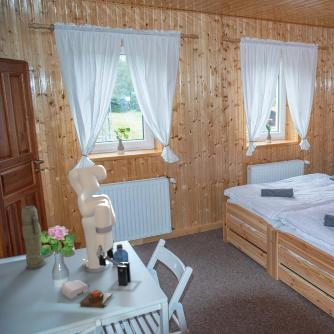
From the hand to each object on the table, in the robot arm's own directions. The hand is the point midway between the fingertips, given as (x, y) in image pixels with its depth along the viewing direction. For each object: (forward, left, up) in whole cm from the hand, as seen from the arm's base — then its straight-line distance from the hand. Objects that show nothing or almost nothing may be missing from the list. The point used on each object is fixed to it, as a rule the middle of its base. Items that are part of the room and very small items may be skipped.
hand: (106, 261), depth 195 cm
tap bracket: (+9, 0, -13) cm, 15 cm away
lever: (+4, 0, -2) cm, 4 cm away
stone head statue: (-51, +17, -13) cm, 56 cm away
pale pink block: (-15, -8, -13) cm, 22 cm away
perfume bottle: (-3, +22, -13) cm, 26 cm away
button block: (+2, -16, -13) cm, 21 cm away
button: (+2, -16, -9) cm, 19 cm away
